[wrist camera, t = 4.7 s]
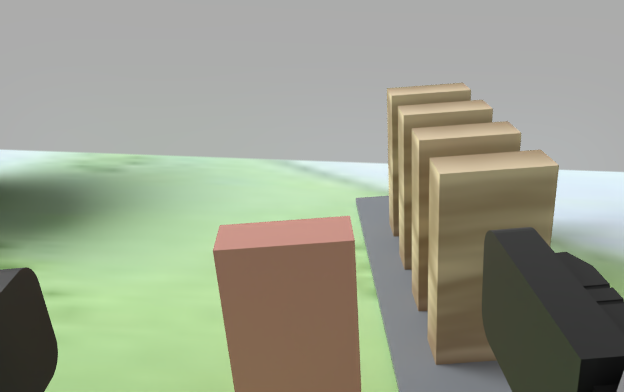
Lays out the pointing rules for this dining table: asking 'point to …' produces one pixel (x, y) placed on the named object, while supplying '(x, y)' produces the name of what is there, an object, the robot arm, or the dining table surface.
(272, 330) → the domino
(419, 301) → the domino
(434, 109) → the domino
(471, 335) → the domino
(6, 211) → the dining table surface
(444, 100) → the domino
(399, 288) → the mat
